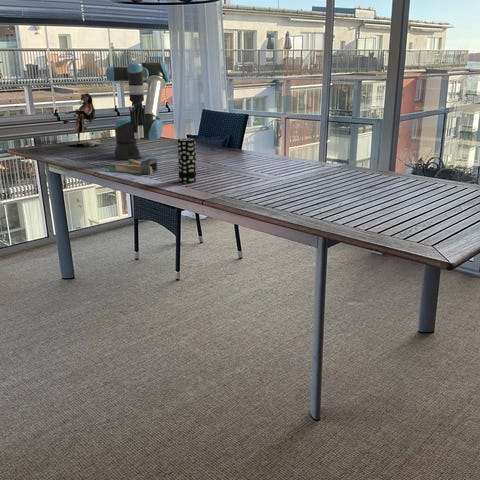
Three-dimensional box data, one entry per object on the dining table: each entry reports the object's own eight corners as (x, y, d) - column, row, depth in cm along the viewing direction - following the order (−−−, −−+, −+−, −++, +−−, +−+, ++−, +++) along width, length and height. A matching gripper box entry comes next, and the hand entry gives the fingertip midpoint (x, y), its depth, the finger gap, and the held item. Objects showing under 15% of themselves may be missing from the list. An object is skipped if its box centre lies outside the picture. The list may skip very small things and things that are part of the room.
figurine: (73, 147, 364) (62, 96, 355) (107, 143, 366) (97, 92, 356) (65, 150, 340) (53, 96, 331) (101, 145, 341) (90, 91, 332)
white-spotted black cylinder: (193, 183, 243) (192, 141, 237) (176, 182, 245) (175, 140, 238) (198, 180, 251) (197, 138, 244) (182, 179, 252) (180, 137, 246)
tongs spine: (113, 169, 275) (113, 162, 273) (154, 172, 267) (153, 165, 266) (109, 170, 270) (108, 164, 269) (149, 174, 263) (149, 167, 262)
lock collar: (150, 169, 272) (150, 158, 270) (157, 170, 270) (156, 159, 268) (141, 173, 263) (141, 161, 261) (148, 173, 262) (148, 162, 260)
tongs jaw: (133, 165, 284) (132, 157, 282) (149, 171, 269) (148, 163, 268) (126, 166, 282) (125, 158, 280) (142, 172, 267) (141, 164, 265)
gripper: (138, 92, 283) (140, 135, 291) (121, 94, 268) (125, 139, 276) (150, 93, 281) (152, 136, 289) (134, 94, 266) (137, 140, 273)
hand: (139, 138), depth 282 cm, fingers open, 4 cm apart
